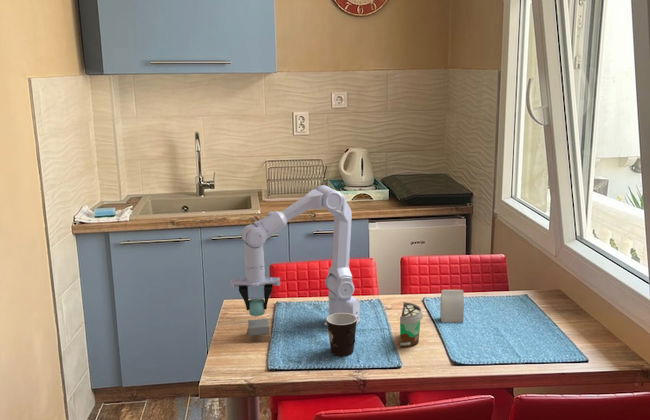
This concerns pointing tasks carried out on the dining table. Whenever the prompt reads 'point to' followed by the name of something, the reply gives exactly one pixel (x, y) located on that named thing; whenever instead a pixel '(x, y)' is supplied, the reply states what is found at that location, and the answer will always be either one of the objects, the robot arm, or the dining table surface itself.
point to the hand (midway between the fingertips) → (256, 308)
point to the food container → (410, 325)
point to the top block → (258, 327)
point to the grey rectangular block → (452, 306)
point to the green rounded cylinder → (256, 307)
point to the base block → (259, 337)
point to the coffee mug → (342, 333)
